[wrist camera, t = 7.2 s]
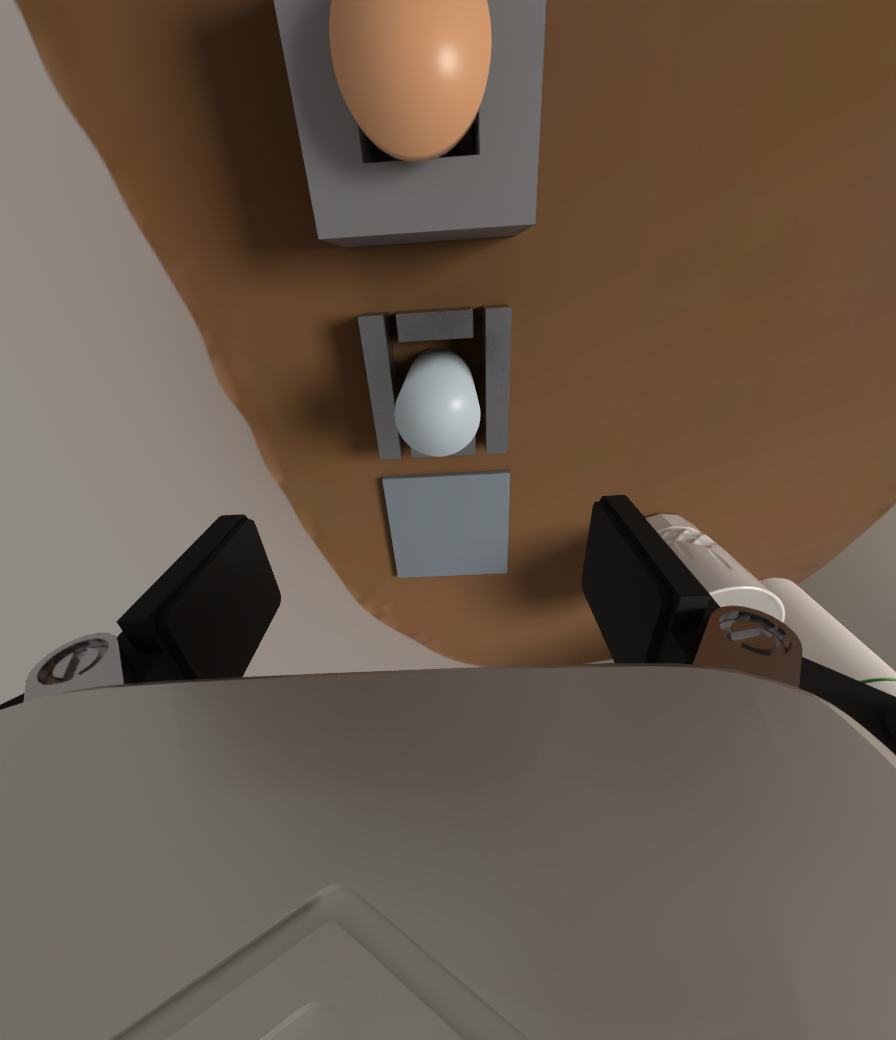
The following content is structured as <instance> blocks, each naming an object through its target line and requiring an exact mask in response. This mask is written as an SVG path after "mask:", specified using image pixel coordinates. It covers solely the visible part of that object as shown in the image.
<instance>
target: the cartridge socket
mask: <svg viewBox="0 0 896 1040" xmlns="http://www.w3.org/2000/svg"><path fill="white" fill-rule="evenodd" d="M511 308H512V307H510V306H508V305H490V306H482V318H483V428H484V445H485V450H486V454H495V453H508V426H509V387H510V348H511ZM396 322H397V330H398V339H399V342H412V341H428V340H444V339H461V338H473V309H472V308H471V307H459V308H444V309H428V310H413V311H400V312H398V313H397V314H396ZM358 323H359V329H360V336H361V342H362V348H363V354H364V361H365V367H366V373H367V380H368V386H369V392H370V399H371V405H372V411H373V417H374V424H375V430H376V436H377V443H378V449H379V455H380V460H382V459H401V458H402V454H403V450H404V446H405V445H404V440H403V438H402V437H401V435H400V433H399V431H398V429H397V426H396V422H395V414H394V413H395V405H396V401H397V398H398V387H397V378H396V370H395V362H394V354H393V345H392V337H391V329H390V321H389V312H381V313H366V314H363V315H361V316H358ZM411 455H412V458H420V457H435V456H428V455H425V454H422V453H420V452H418V451H416V450H414V449H413V448H411ZM458 455H476V445H475V436H474V438H473V439H472V440H471V442H470V443H469V444H468V445H467V446H466V447H464V448H463V449H462V450H460V451H458V452H456V453H454V454H451V455H448V456H458Z"/></svg>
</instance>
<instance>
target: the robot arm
mask: <svg viewBox="0 0 896 1040" xmlns="http://www.w3.org/2000/svg"><path fill="white" fill-rule="evenodd" d="M582 589H583V592H584V595H585V597H586V599H587V602H588V604H589V606H590V608H591V611H592V613H593V615H594V617H595V620H596V622H597V624H598V626H599V629H600V631H601V633H602V635H603V638H604V640H605V642H606V644H607V647H608V649H609V651H610V653H611V655H612V658H613V660H614V662H615V663H606V664H605V663H604V664H568V665H537V666H508V667H479V668H453V669H452V668H450V669H426V670H425V669H424V670H401V671H400V670H399V671H374V672H349V673H325V674H304V675H280V676H261V677H243V675H244V673H245V671H246V669H247V667H248V665H249V663H250V661H251V659H252V657H253V655H254V654H255V652H256V650H257V648H258V646H259V644H260V642H261V640H262V638H263V636H264V634H265V633H266V631H267V629H268V627H269V625H270V623H271V621H272V619H273V617H274V615H275V613H276V611H277V609H278V608H279V605H280V602H281V594H280V591H279V588H278V585H277V582H276V580H275V578H274V574H273V572H272V569H271V566H270V563H269V561H268V558H267V555H266V552H265V550H264V547H263V544H262V541H261V539H260V536H259V533H258V530H257V527H256V525H255V523H254V521H253V520H251V519H248V518H247V517H246V516H245V515H224V516H220V517H219V518H218V519H217V520H216V521H215V522H214V523H213V524H212V525H211V526H210V527H209V528H208V529H207V530H206V531H205V532H204V533H203V534H202V535H201V536H200V537H199V538H198V539H197V540H196V541H195V542H194V543H193V544H192V545H191V546H190V547H189V548H188V549H187V550H186V551H185V552H184V553H183V554H182V556H180V557H179V558H178V560H176V562H175V563H174V564H173V565H172V566H171V567H170V568H169V569H168V570H167V571H166V572H165V573H164V574H163V575H162V576H161V577H160V578H159V579H158V580H157V581H156V582H155V583H154V584H153V585H152V586H151V587H150V588H149V589H148V590H147V591H146V592H145V593H144V594H143V595H142V596H141V597H140V598H139V599H138V600H137V601H136V602H135V603H134V604H133V605H132V606H131V607H130V608H129V610H127V612H126V613H125V614H124V615H123V616H122V617H121V618H120V619H119V620H118V621H117V623H118V625H119V626H120V628H121V629H122V632H121V633H120V634H119V636H118V637H117V638H116V636H114V635H111V634H109V633H96V634H91V635H87V636H84V637H81V638H78V639H75V640H73V641H71V642H69V643H67V644H64V645H62V646H61V647H59V648H57V649H56V650H54V651H53V652H51V653H50V654H48V655H47V656H46V657H44V658H43V659H42V660H41V661H40V662H39V663H38V664H36V666H35V667H34V668H33V669H32V671H31V672H30V673H29V676H28V678H27V680H26V686H25V693H24V694H22V695H20V696H18V697H16V698H13V699H12V700H10V701H7V702H5V703H3V704H1V705H0V1040H896V697H895V696H893V695H890V694H888V693H886V692H883V691H881V690H879V689H876V688H874V687H872V686H870V685H867V684H865V683H863V682H860V681H858V680H856V679H853V678H851V677H849V676H846V675H844V674H842V673H839V672H837V671H835V670H832V669H830V668H828V667H825V666H823V665H821V664H818V663H816V662H814V661H811V660H809V659H807V658H804V657H802V653H803V649H802V644H801V641H800V640H799V638H798V637H797V635H796V634H795V632H794V631H792V630H791V629H790V628H789V627H788V626H787V625H786V624H784V623H783V622H781V621H780V620H778V619H776V618H775V617H773V616H771V615H769V614H766V613H764V612H762V611H759V610H756V609H752V608H748V607H743V606H724V607H720V606H719V605H718V604H717V602H716V601H715V600H714V599H713V598H712V596H711V595H710V594H709V592H708V591H707V590H706V589H705V588H704V587H703V585H702V584H701V583H700V582H699V581H698V580H697V578H696V577H695V576H694V575H693V574H692V572H691V571H690V570H689V569H688V568H687V567H686V565H685V564H684V563H683V562H682V561H681V560H680V558H679V557H678V556H677V555H676V554H675V552H674V551H673V550H672V549H671V548H670V547H669V545H668V544H667V543H666V542H665V541H664V540H663V538H662V537H661V536H660V535H659V534H658V533H657V531H656V530H655V529H654V528H653V527H652V525H651V524H650V523H649V522H648V521H647V520H646V518H645V517H644V516H643V515H642V514H641V513H640V511H639V510H638V509H637V508H636V507H635V506H634V504H633V503H632V502H631V501H630V500H629V498H628V497H627V496H625V495H614V496H602V497H601V499H600V501H599V502H595V503H594V504H593V509H592V515H591V522H590V528H589V535H588V541H587V548H586V554H585V561H584V567H583V574H582Z"/></svg>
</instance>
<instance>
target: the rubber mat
mask: <svg viewBox="0 0 896 1040" xmlns="http://www.w3.org/2000/svg"><path fill="white" fill-rule="evenodd" d="M382 481H383V487H384V493H385V499H386V506H387V512H388V518H389V524H390V531H391V537H392V543H393V549H394V556H395V562H396V568H397V574H398V578H405V577H428V576H450V575H473V574H496V573H507V563H508V529H509V495H510V471H509V470H504V471H485V472H465V473H446V474H427V475H407V476H388V477H383V479H382Z"/></svg>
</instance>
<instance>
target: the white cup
mask: <svg viewBox="0 0 896 1040" xmlns="http://www.w3.org/2000/svg"><path fill="white" fill-rule="evenodd" d="M646 520H647V521H648V522H649V523H650V524H651V525H652V527H653V528H654V529H655V530H656V531H657V533H658V534H659V535H660V536H661V537H662V538H663V540H664V541H665V542H666V543H667V544H668V545H669V547H670V548H671V549H672V550H673V551H674V552H675V554H676V555H677V556H678V557H679V558H680V560H681V561H682V562H683V563H684V564H685V565H686V567H687V568H688V569H689V570H690V571H691V572H692V574H693V575H694V576H695V577H696V578H697V580H698V581H699V582H700V583H701V584H702V585H703V587H704V588H705V589H706V590H707V591H708V592H709V594H710V595H711V596H712V598H713V599H714V600H715V601H716V602H717V604H718V605H719V606H720V607H724V606H743V607H748V608H752V609H756V610H759V611H762V612H764V613H766V614H769V615H771V616H773V617H775V618H776V619H778V620H780V621H781V622H784V618H785V609H784V606H783V603H782V602H781V600H780V599H779V598H778V597H777V596H776V595H775V594H774V593H773V592H771V591H770V590H769V589H768V588H767V587H766V586H765V585H763V584H762V583H761V582H760V581H759V580H758V579H757V578H755V577H754V576H753V575H752V574H751V573H750V572H749V571H747V570H746V569H745V568H744V567H743V566H742V565H741V564H740V563H738V562H737V561H736V560H735V559H734V558H733V557H732V556H731V555H729V554H728V553H727V552H726V551H725V550H724V549H722V548H721V547H720V546H719V545H717V544H716V543H715V542H714V541H713V540H711V539H710V538H709V537H708V536H707V535H705V534H703V533H701V532H700V531H699V530H698V529H697V528H696V527H695V526H694V525H693V524H691V523H690V522H689V521H687V520H685V519H684V518H682V517H680V516H679V515H673V514H657V515H653V516H650V517H647V518H646Z"/></svg>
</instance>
